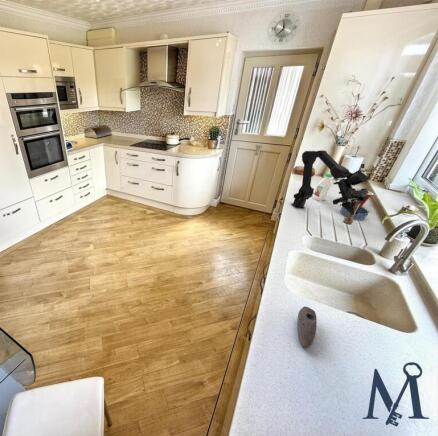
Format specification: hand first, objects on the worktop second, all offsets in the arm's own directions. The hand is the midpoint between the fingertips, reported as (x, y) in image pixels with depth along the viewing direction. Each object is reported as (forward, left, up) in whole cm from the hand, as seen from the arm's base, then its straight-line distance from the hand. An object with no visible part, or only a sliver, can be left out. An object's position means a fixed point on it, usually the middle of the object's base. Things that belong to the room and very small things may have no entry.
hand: (354, 214), depth 132 cm
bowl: (+24, +24, -13) cm, 37 cm away
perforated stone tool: (-64, -66, -14) cm, 93 cm away
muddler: (0, +1, -7) cm, 7 cm away
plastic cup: (+40, +40, -14) cm, 58 cm away
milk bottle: (+17, +50, -14) cm, 55 cm away
